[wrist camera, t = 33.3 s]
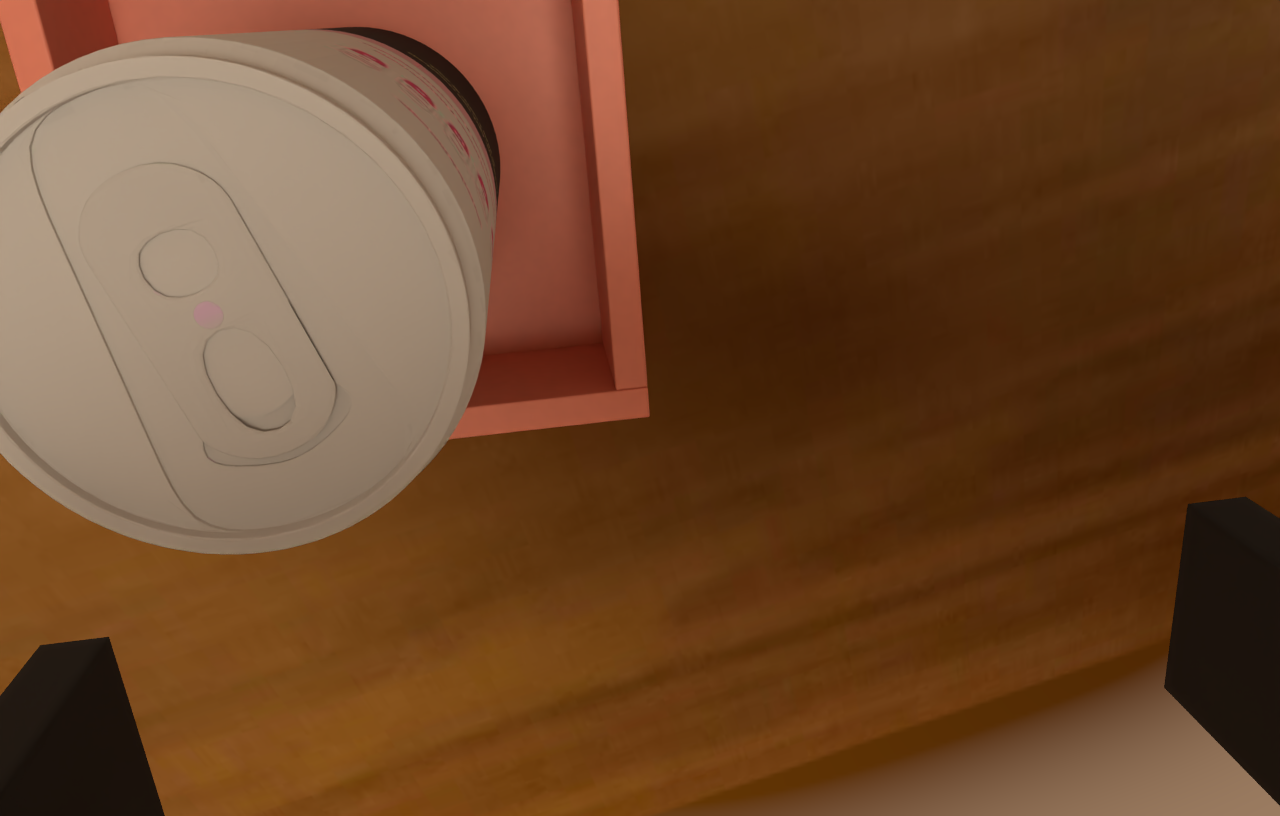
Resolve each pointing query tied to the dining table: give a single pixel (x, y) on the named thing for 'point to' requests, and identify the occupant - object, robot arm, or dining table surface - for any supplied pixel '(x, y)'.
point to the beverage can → (242, 280)
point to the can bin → (529, 173)
